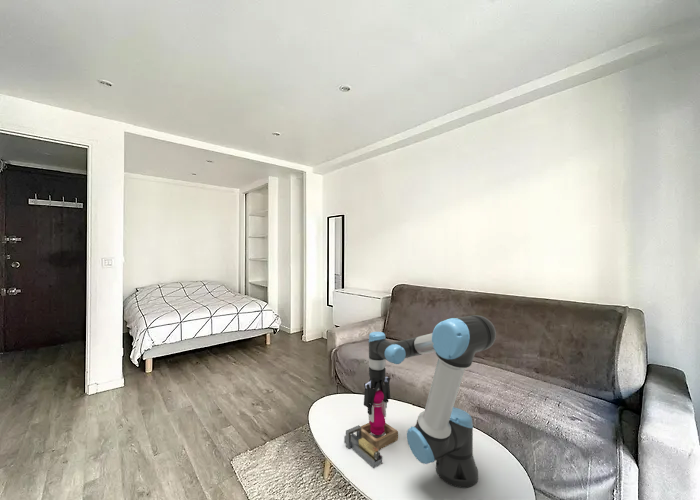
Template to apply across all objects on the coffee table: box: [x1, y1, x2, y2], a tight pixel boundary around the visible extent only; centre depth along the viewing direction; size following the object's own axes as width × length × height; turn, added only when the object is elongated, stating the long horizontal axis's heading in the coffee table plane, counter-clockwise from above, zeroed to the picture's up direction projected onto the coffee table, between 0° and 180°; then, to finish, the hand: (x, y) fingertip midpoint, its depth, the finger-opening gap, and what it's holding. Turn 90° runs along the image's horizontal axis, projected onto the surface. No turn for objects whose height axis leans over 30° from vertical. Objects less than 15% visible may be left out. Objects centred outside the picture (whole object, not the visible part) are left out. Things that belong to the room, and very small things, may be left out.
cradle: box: [360, 422, 399, 450], centre depth 138 cm, size 13×13×4 cm
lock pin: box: [359, 438, 381, 460], centre depth 124 cm, size 11×3×3 cm, turn 36°
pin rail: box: [343, 424, 383, 469], centre depth 128 cm, size 20×7×7 cm, turn 36°
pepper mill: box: [368, 388, 386, 436], centre depth 138 cm, size 7×7×20 cm
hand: (377, 418), depth 138 cm, fingers closed on pepper mill, 6 cm apart
